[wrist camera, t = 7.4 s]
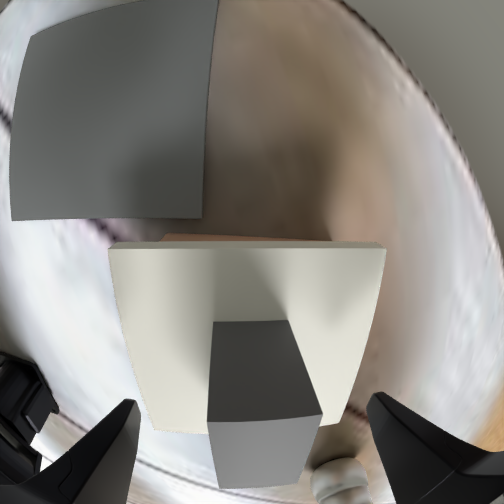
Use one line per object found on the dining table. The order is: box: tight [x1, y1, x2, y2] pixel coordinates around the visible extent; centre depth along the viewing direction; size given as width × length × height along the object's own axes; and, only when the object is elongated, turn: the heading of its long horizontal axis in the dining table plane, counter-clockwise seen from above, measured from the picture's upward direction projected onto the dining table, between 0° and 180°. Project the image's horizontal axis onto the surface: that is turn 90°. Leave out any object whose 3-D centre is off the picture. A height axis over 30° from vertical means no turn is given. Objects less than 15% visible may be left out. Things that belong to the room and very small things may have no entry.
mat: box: [9, 0, 219, 221], centre depth 11 cm, size 13×13×1 cm
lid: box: [108, 241, 387, 489], centre depth 9 cm, size 11×11×6 cm
